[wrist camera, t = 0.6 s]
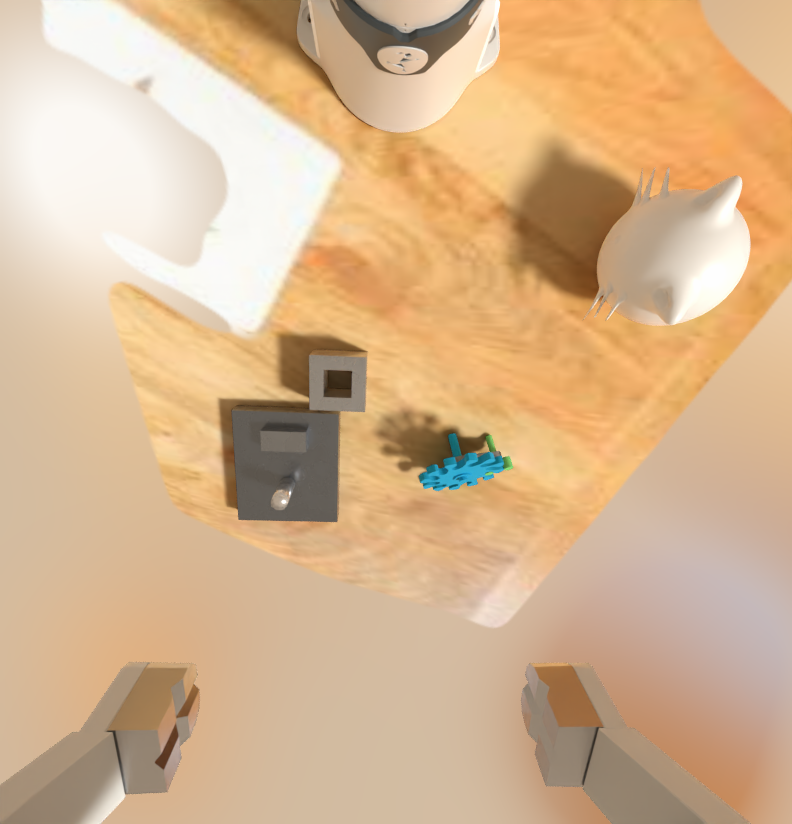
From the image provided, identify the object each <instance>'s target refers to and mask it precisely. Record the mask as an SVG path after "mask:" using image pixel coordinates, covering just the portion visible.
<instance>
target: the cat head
mask: <svg viewBox="0 0 792 824" xmlns="http://www.w3.org/2000/svg"><path fill="white" fill-rule="evenodd" d="M654 171H655V168H654V170H653V172H652V175H651V177H650V180H649V182H648V185H647V187H646V190H645V192H644V195H643V196H642V198H641V188H642V172H643V168H642V172H641V176H640V181H639V185H638V189H637V193H636V196H635V199H634V201H633V204H632V206H631V208H630V209H629V210H628V211H627V212H626V213H625V214H624V215H623V216H622V217H621V218H620V219H619V220H618V221H617V222H616V223H615V224H614V225H613V227H612V228H611V230H610V231H609V233H608V234H607V236H606V238H605V240H604V242H603V244H602V247H601V249H600V252H599V256H598V261H597V279H598V284H599V291H598V293H597V295H596V297H595V299H594V301H593V304H592V306H591V308H590V309H589V311H588V313H589V312H590V311H591V309H592V308H593V307H594V305H595V304H596V302H597V301H598V300H599V299H600V297H601V296H603V299H602V301H601V303H600V305H599V308H598V310H597V312H596V314H595V317H596V315H597V313H598V312H599V310H600V308H601V307H602V305H603V303H604V302H605V300H606V301H607V303H608V304H609V305H610V306H611V307H612V309H611V311H610V313H609V314H608V316H607V318H606V320H607V319H608V318H609V317H610V316H611V314H612V313H613V311H614V310H615V311H616V312H617V313H619V314H620V315H622V316H623V317H625V318H627V319H629V320H632V321H634V322H637V323H641V324H646V325H674V324H677V323H682V322H685V321H688V320H691V319H694V318H696V317H698V316H700V315H702V314H704V313H706V312H708V311H709V310H711V309H712V308H714V307H715V306H716V305H718V304H719V303H720V302H721V301H723V300H724V299H725V298H726V297H727V296H728V295H729V294H730V293H731V291H732V290H733V289H734V288H735V286H736V285H737V283H738V282H739V280H740V279H741V277H742V275H743V273H744V271H745V268H746V266H747V263H748V259H749V254H750V235H749V230H748V227H747V224H746V222H745V220H744V218H743V216H742V215H741V213H740V212H739V211H738V209H737V208H736V207H735V205H736V203H737V200H738V198H739V195H740V192H741V188H742V179H741V178H740V177H739V176H732V177H729V178H727V179H725V180H723V181H721V182H720V183H718V184H716V185H714V186H713V187H711V188H709V189H707V190H705V191H703V190H696V189H680V190H673V191H668V180H669V167H668V168H667V172H666V175H665V178H664V182H663V185H662V189H661V191H660V193H659V194H658V195H655V196H652V197H649V195H650V190H651V185H652V181H653V176H654ZM588 313H587V314H586V316H587V315H588ZM586 316H585V317H586ZM585 317H584V318H585ZM595 317H594V318H595ZM583 320H584V319H583Z"/></svg>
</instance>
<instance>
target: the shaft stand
mask: <svg viewBox="0 0 792 824" xmlns="http://www.w3.org/2000/svg"><path fill="white" fill-rule="evenodd" d="M232 425H233V440H234V456H235V472H236V487H237V503H238V518H239V520H271V521H316V522H337V520H338V514H339V458H340V411H326V410H310V408H294V407H268V406H242V405H237V406H236V407H235V408H234V409H232Z"/></svg>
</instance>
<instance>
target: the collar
mask: <svg viewBox="0 0 792 824" xmlns="http://www.w3.org/2000/svg"><path fill="white" fill-rule="evenodd" d="M328 370H343V371H352V389H333V388H328ZM366 381H367V352H364V351H342V350H321V349H314V350H313V351H312V352H311V353H310V354H309V408H310V410H326V411H352V412H365V405H366Z"/></svg>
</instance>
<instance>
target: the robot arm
mask: <svg viewBox="0 0 792 824" xmlns="http://www.w3.org/2000/svg"><path fill="white" fill-rule="evenodd" d="M499 6H500V1H499V0H301V3H300V10H299V16H298V23H297V38H298V43H299V45H300V47H301V48H302V50H303V51H304V52H305V53H306V54H307V55H308V56H309V57H310V58H311V59H312V60H313V61H314V62H316V63H317V64H318V65H319V66H320V67H322V69H323V70H324V71H325V73H326V74H327V76H328V78H329V80H330V82H331V84H332V86H333V87H334V89H335V91H336V93H337V94H338V96H339V97H340V99H341V100H342V102H343V103H344V104H345V105H346V107H347V108H348V109H349V110H350V111H351V112H352V113H353V114H354V115H356V116H357V117H358V118H359V119H361V120H362V121H364V122H365V123H367V124H369V125H371V126H373V127H375V128H378V129H381V130H384V131H389V132H400V133H401V132H411V131H416V130H419V129H422V128H425V127H427V126H429V125H431V124H433V123H434V122H436V121H438V120H439V119H440V118H442V117H443V116H444V115H445V114H446V113H447V112H448V111H449V110H450V109H451V108H452V107H453V106H454V105H455V103H456V102H457V101H458V99H459V98H460V96H461V95H462V93H463V92H464V90H465V89H466V87H467V86H468V85H469V84H470V82H471V81H472V80H474V79H476V78H477V77H479V76H480V75H482V74H483V73H485V72H486V71H487V70H489V69H490V68H491V67H492V66H493V65H494V64H495V62H496V60H497V57H498V54H499V50H500V41H499V23H498V12H499ZM310 18H311V23H309V22H308V21H309V19H310ZM197 675H198V674H197V668H196V664H192V663H161V662H160V663H158V662H129V663H127V664H126V665H125V666H124V667H123V668H122V669H121V670H120V672H119V673H118V675H117V677H116V678H115V679H114V681H113V682H112V684H111V685H110V687H109V688H108V690H107V691H106V693H105V694H104V696H103V697H102V699H101V700H100V702H99V703H98V705H97V706H96V708H95V709H94V711H93V712H92V714H91V715H90V717H89V718H88V720H87V721H86V722H85V724H84V726H83V727H82V728H81V730H80V731H79V732H72V733H70V734H69V735H68V736H66V737H65V738H63V739H62V740H61V741H59V742H58V743H57V744H55V745H54V746H53V747H51V748H50V749H49V750H47V751H46V752H44V753H43V754H42V755H40V756H39V757H38V758H36V759H35V760H34V761H32V762H31V763H29V764H28V765H27V766H25V767H24V768H23V769H21V770H20V771H19V772H17V773H16V774H14V775H13V776H12V777H11V778H9V779H8V780H6V781H5V782H4V783H2V784H1V785H0V824H101V823H102V821H104V819H105V818H106V817H107V816H108V815H109V814H110V813H111V812H112V811H113V810H114V809H115V808H116V807H117V806H118V804H119V803H120V802H121V801H122V800H123V799H124V798H125V794H141V793H162V792H167V791H168V789H169V786H170V784H171V781H172V779H173V777H174V775H175V772H176V770H177V767H178V765H179V763H180V760H181V751H180V746H181V745H182V744H183V743H184V742H185V741H186V740H187V739H188V738H189V737H190V736H191V733H192V731H193V728H194V726H195V723H196V719H197V715H198V711H199V704H200V692H199V689H198V688H197V687H196V686H195V685H194V682H195V680H196V677H197ZM525 675H526V678H527V681H528V684H527V685H526V686H525V687H524V688H523V691H522V698H521V703H522V714H523V719H524V723H525V726H526V729H527V732H528V734H529V735H530V736H531V737H532V738H533V739H534V740H535V741H536V742H537V745H536V751H535V756H536V759H537V762H538V765H539V767H540V770H541V773H542V776H543V779H544V782H545V785H546V786H564V787H583V790H584V791H585V793H586V794H587V795H588V796H589V797H590V798H591V800H592V801H593V802H594V803H595V804H596V806H597V807H598V808H599V809H600V810H601V811H602V813H603V814H604V815H605V816H606V817H607V818H608V820H609V821H610V822H611V823H612V824H751V823H750V822H749V821H747V820H746V819H745V818H744V817H743V816H741V815H740V814H739V813H738V812H737V811H735V810H734V809H733V808H732V807H730V806H729V805H728V804H727V803H725V802H724V801H723V800H722V799H720V798H719V797H718V796H717V795H716V794H714V793H713V792H712V791H711V790H709V789H708V788H707V787H706V786H705V785H703V784H702V783H701V782H700V781H698V780H697V779H696V778H695V777H694V776H692V775H691V774H690V773H688V772H687V771H686V770H685V769H684V768H682V767H681V766H680V765H679V764H677V763H676V762H675V761H674V760H673V759H671V758H670V757H669V756H668V755H666V754H665V753H664V752H663V751H662V750H660V749H659V748H658V747H657V746H655V745H654V744H653V743H652V742H651V741H649V740H648V739H647V738H646V737H644V736H643V735H642V734H641V733H639V732H638V731H637V730H636V729H635V728H628V727H627V726H626V724H625V722H624V721H623V719H622V717H621V715H620V714H619V712H618V710H617V708H616V707H615V705H614V703H613V701H612V700H611V698H610V696H609V695H608V693H607V691H606V689H605V688H604V686H603V684H602V682H601V681H600V679H599V677H598V676H597V674H596V672H595V670H594V669H593V667H592V666H591V665H590V664H589V663H530V664H529V665H528V666H527V669H526V674H525Z"/></svg>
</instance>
